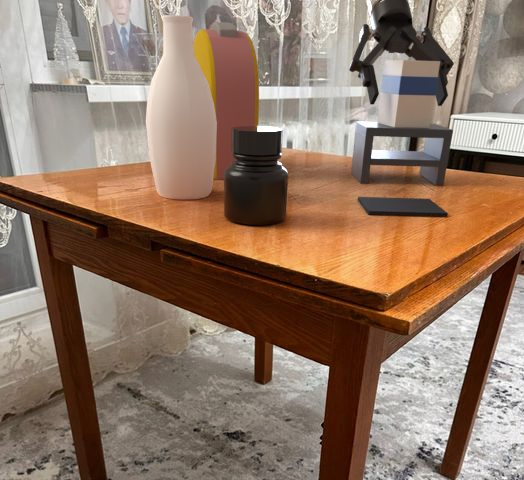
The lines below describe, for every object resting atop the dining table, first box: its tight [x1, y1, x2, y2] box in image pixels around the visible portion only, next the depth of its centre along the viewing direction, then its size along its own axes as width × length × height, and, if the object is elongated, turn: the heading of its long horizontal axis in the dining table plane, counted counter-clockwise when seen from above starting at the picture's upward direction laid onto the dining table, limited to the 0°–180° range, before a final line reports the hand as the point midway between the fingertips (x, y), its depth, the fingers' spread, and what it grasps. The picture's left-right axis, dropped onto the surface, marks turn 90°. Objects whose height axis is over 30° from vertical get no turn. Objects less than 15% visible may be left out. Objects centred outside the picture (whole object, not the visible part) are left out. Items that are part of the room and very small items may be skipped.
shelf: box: [350, 120, 454, 187], centre depth 107 cm, size 16×12×10 cm
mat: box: [357, 196, 449, 218], centre depth 86 cm, size 12×10×1 cm
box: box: [376, 59, 440, 128], centre depth 102 cm, size 7×9×11 cm
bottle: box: [145, 14, 217, 201], centre depth 85 cm, size 11×11×25 cm
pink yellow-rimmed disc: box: [193, 21, 260, 180], centre depth 107 cm, size 21×9×26 cm, turn 17°
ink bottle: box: [223, 125, 289, 226], centre depth 75 cm, size 10×9×12 cm
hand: (409, 100), depth 101 cm, fingers open, 13 cm apart
